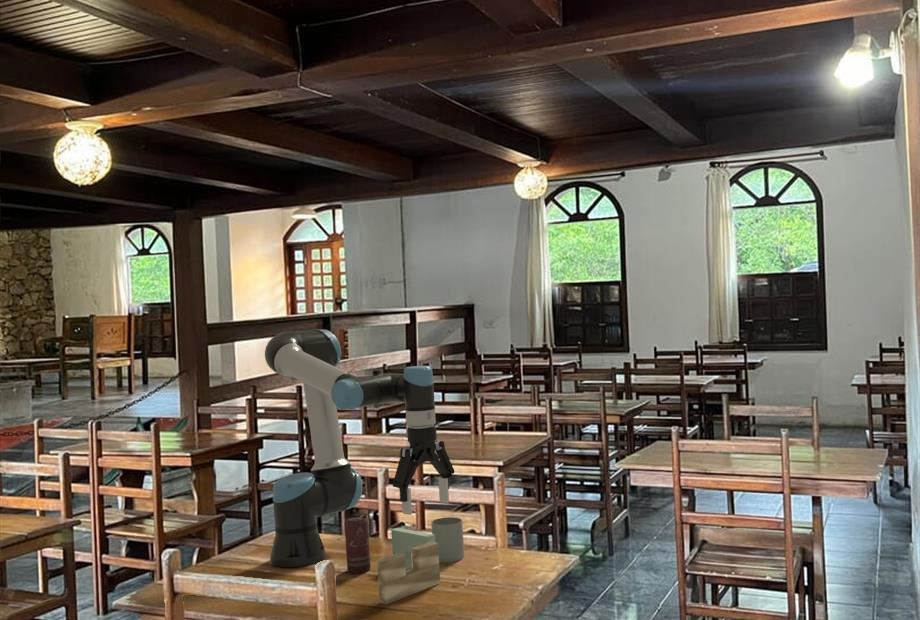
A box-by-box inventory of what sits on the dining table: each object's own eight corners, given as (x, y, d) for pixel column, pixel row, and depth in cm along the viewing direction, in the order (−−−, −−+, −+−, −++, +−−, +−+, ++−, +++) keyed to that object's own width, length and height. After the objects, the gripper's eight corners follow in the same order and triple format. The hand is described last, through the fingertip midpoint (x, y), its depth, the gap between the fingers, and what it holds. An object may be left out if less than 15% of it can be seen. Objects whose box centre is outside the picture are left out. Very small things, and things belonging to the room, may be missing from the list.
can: (375, 567, 227) (372, 515, 227) (362, 574, 221) (359, 521, 221) (355, 565, 229) (352, 514, 229) (343, 573, 223) (339, 520, 223)
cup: (460, 562, 227) (458, 525, 227) (430, 562, 228) (428, 525, 228) (466, 553, 235) (464, 517, 235) (437, 553, 236) (435, 517, 236)
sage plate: (393, 567, 226) (391, 529, 226) (400, 564, 228) (397, 527, 228) (430, 575, 216) (428, 536, 216) (437, 573, 218) (434, 534, 218)
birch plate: (379, 602, 198) (377, 560, 198) (433, 581, 212) (431, 541, 212) (386, 604, 197) (383, 561, 197) (440, 583, 210) (437, 543, 210)
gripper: (396, 434, 207) (401, 520, 207) (464, 420, 225) (469, 499, 225) (375, 432, 212) (380, 517, 212) (444, 418, 230) (448, 496, 230)
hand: (426, 508), depth 218 cm, fingers open, 13 cm apart
